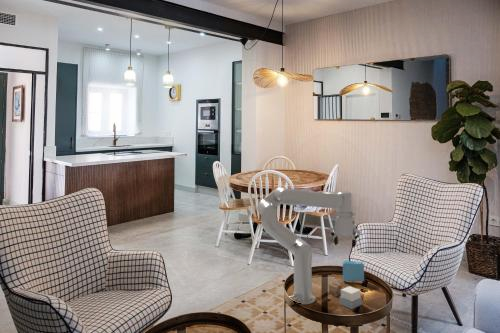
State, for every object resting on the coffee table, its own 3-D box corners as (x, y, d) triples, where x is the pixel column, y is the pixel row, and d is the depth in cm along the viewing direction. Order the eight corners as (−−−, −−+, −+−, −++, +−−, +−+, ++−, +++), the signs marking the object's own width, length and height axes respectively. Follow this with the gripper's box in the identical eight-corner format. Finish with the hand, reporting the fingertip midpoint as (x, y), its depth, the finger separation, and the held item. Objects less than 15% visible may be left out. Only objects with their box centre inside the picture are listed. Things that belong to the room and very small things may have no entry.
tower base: (351, 309, 187) (351, 302, 187) (339, 304, 194) (339, 297, 194) (361, 305, 192) (361, 297, 192) (349, 300, 199) (349, 292, 198)
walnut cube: (336, 296, 204) (335, 287, 203) (329, 293, 208) (328, 284, 207) (342, 293, 207) (341, 285, 206) (335, 291, 211) (334, 282, 210)
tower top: (351, 301, 188) (351, 293, 187) (340, 297, 193) (340, 289, 193) (360, 297, 192) (360, 290, 192) (349, 293, 198) (349, 286, 197)
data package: (363, 281, 224) (363, 261, 223) (364, 284, 219) (363, 264, 218) (343, 280, 227) (342, 260, 226) (343, 282, 222) (342, 263, 222)
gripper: (362, 214, 201) (362, 245, 202) (331, 212, 210) (332, 242, 211) (358, 217, 195) (358, 249, 196) (326, 214, 204) (327, 245, 205)
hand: (344, 245), depth 203 cm, fingers open, 9 cm apart
